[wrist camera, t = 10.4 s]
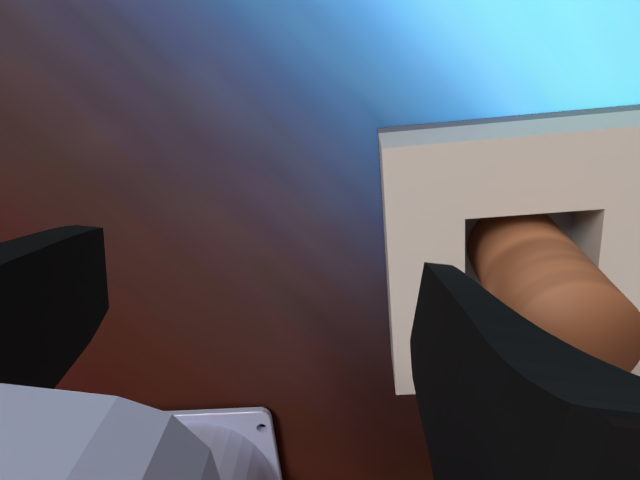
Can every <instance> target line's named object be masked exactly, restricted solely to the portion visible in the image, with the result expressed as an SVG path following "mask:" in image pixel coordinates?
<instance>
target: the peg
mask: <svg viewBox="0 0 640 480" xmlns="http://www.w3.org/2000/svg"><path fill="white" fill-rule="evenodd" d="M467 254H468V258H469V261H470V263H471V265H472V267H473V270H474V272H475V274H476V276H477V278H478V280H479V282H480V285H481V286H482V287H483V288H484V289H486V290H487V291H488V292H490V293H491V294H492V295H494V296H495V297H496V298H498V299H499V300H500V301H502V302H503V303H504V304H506V305H507V306H508V307H510V308H511V309H513V310H514V311H515V312H517V313H518V314H520V315H521V316H523V317H524V318H526V319H527V320H529V321H530V322H532V323H533V324H535V325H537V326H538V327H540V328H541V329H543V330H545V331H546V332H548V333H550V334H551V335H553V336H555V337H557V338H559V339H561V340H562V341H564V342H566V343H568V344H570V345H572V346H573V347H575V348H577V349H579V350H581V351H583V352H585V353H587V354H589V355H591V356H593V357H596V358H598V359H600V360H602V361H605V362H607V363H609V364H611V365H614V366H616V367H618V368H621V369H623V370H625V371H627V372H631V371H632V370H633V369H634V368H635V367H636V365H637V364H638V362H639V361H640V312H639V310H638V309H637V308H636V307H635V306H634V305H633V304H632V302H631V301H630V300H629V299H628V298H627V297H626V296H625V295H624V294H623V293H622V292H621V291H620V290H619V289H618V288H617V287H616V286H615V285H614V284H613V283H612V282H611V281H610V280H609V279H608V278H607V276H606V275H605V274H604V273H603V272H602V271H601V270H600V269H599V268H598V267H597V266H596V265H595V264H594V263H593V262H592V261H591V260H590V259H589V258H588V257H587V256H586V255H585V254H584V253H583V251H582V250H581V249H580V248H579V247H578V246H577V245H576V244H575V243H574V242H573V241H572V240H571V239H570V238H569V237H568V236H567V235H566V234H565V233H564V232H563V231H562V230H561V229H560V228H559V226H558V225H557V224H556V223H555V222H554V221H553V220H552V219H551V218H550V217H549V216H548V215H547V214H546V213H542V214H529V215H515V216H501V217H487V218H480V219H479V220H478V222H477V223H476V224H475V225H474V227H473V228H472V230H471V232H470V235H469V238H468V243H467Z"/></svg>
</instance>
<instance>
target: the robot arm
mask: <svg viewBox="0 0 640 480" xmlns="http://www.w3.org/2000/svg"><path fill="white" fill-rule="evenodd" d="M108 309H109V303H108V289H107V276H106V262H105V249H104V235H103V228H98V227H89V226H80V225H73V226H64V227H59V228H54V229H50V230H46V231H42V232H38V233H34V234H31V235H27V236H23V237H20V238H16V239H12V240H9V241H5V242H2V243H0V480H282V474H281V468H280V462H279V456H278V450H277V445H276V439H275V433H274V427H273V421H272V415H271V413H270V411H269V410H268V409H266V408H264V407H250V408H226V409H203V410H179V411H161V410H158V409H155V408H152V407H149V406H146V405H143V404H140V403H137V402H134V401H131V400H127V399H124V398H121V397H118V396H110V395H101V394H92V393H83V392H75V391H66V390H57V389H54V388H55V387H56V385H57V384H58V383H59V381H60V380H61V379H62V378H63V376H64V375H65V374H66V373H67V371H68V370H69V369H70V368H71V366H72V365H73V364H74V362H75V361H76V360H77V358H78V357H79V356H80V355H81V353H82V352H83V351H84V349H85V348H86V347H87V345H88V344H89V343H90V341H91V339H92V338H93V336H94V334H95V333H96V331H97V329H98V327H99V326H100V324H101V322H102V320H103V318H104V316H105V314H106V312H107V310H108ZM410 352H411V366H412V378H413V383H414V388H415V392H416V397H417V402H418V406H419V411H420V415H421V420H422V424H423V429H424V433H425V438H426V442H427V447H428V451H429V456H430V460H431V465H432V471H433V477H434V480H640V376H638V375H635V374H632V373H630V372H627V371H625V370H623V369H621V368H618V367H616V366H614V365H611V364H609V363H607V362H605V361H602V360H600V359H598V358H596V357H593V356H591V355H589V354H587V353H585V352H583V351H581V350H579V349H577V348H575V347H573V346H572V345H570V344H568V343H566V342H564V341H562V340H561V339H559V338H557V337H555V336H553V335H551V334H550V333H548V332H546V331H545V330H543V329H541V328H540V327H538V326H537V325H535V324H533V323H532V322H530V321H529V320H527V319H526V318H524V317H523V316H521V315H520V314H518V313H517V312H515V311H514V310H513V309H511V308H510V307H508V306H507V305H506V304H504V303H503V302H502V301H500V300H499V299H498V298H496V297H495V296H494V295H492V294H491V293H490V292H488V291H487V290H486V289H484V288H483V287H482V286H481V285H479V284H478V283H477V282H475V281H474V280H473V279H472V278H470V277H469V276H468V275H466V274H465V273H464V272H462V271H461V270H459V269H458V268H456V267H455V266H453V265H446V264H437V263H427V262H424V266H423V272H422V277H421V283H420V288H419V294H418V299H417V305H416V310H415V315H414V321H413V326H412V332H411V337H410ZM259 424H264V425H265V427H262V426H260V425H259Z"/></svg>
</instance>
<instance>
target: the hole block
mask: <svg viewBox="0 0 640 480" xmlns="http://www.w3.org/2000/svg"><path fill="white" fill-rule="evenodd" d="M377 132H378V148H379V165H380V182H381V198H382V215H383V231H384V248H385V265H386V281H387V298H388V315H389V331H390V347H391V356H392V365H393V374H394V383H395V392H396V395H405V394H416V392H415V388H414V383H413V378H412V366H411V352H410V337H411V332H412V326H413V321H414V315H415V310H416V305H417V299H418V294H419V288H420V283H421V277H422V272H423V266H424V262H427V263H437V264H446V265H453V266H455V267H456V268H458V269H459V270H461V271H462V272H464V273H465V274H466V275H468V276H469V277H470V278H472V279H473V280H474V281H475V282H477V283H478V284H479V285H480V282H479V280H478V278H477V276H476V274H475V272H474V270H473V267H472V265H471V263H470V261H469V258H468V254H467V243H468V238H469V235H470V232H471V230H472V228H473V227H474V225H475V224H476V223H477V222H478V220H479V219H480V218H487V217H501V216H515V215H529V214H542V213H546V214H547V215H548V216H549V217H550V218H551V219H552V220H553V221H554V222H555V223H556V224H557V225H558V226H559V228H560V229H561V230H562V231H563V232H564V233H565V234H566V235H567V236H568V237H569V238H570V239H571V240H572V241H573V242H574V243H575V244H576V245H577V246H578V247H579V248H580V249H581V250H582V251H583V253H584V254H585V255H586V256H587V257H588V258H589V259H590V260H591V261H592V262H593V263H594V264H595V265H596V266H597V267H598V268H599V269H600V270H601V271H602V272H603V273H604V274H605V275H606V276H607V278H608V279H609V280H610V281H611V282H612V283H613V284H614V285H615V286H616V287H617V288H618V289H619V290H620V291H621V292H622V293H623V294H624V295H625V296H626V297H627V298H628V299H629V300H630V301H631V302H632V304H633V305H634V306H635V307H636V308H637V309H638V310H639V312H640V105H629V106H617V107H606V108H595V109H584V110H573V111H562V112H551V113H540V114H528V115H517V116H506V117H495V118H484V119H473V120H462V121H450V122H439V123H428V124H417V125H406V126H395V127H384V128H377ZM630 373H632V374H635V375H638V376H640V361H639V362H638V364H637V365H636V367H635V368H634V369H633V370H632V371H631V372H630Z"/></svg>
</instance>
